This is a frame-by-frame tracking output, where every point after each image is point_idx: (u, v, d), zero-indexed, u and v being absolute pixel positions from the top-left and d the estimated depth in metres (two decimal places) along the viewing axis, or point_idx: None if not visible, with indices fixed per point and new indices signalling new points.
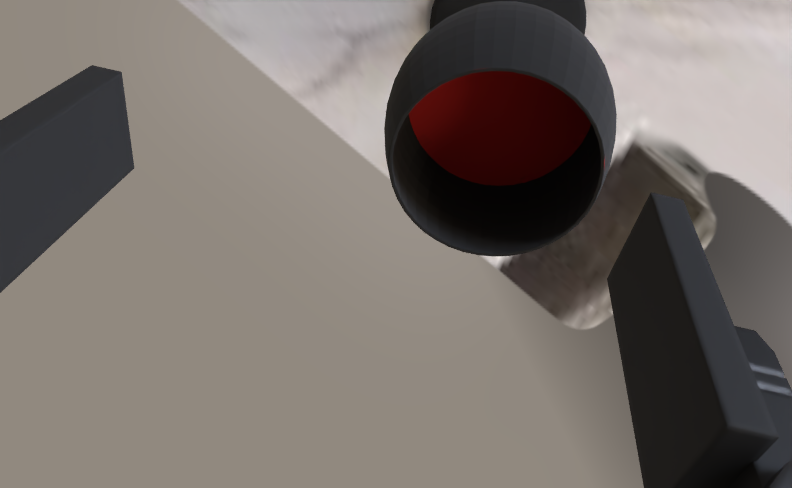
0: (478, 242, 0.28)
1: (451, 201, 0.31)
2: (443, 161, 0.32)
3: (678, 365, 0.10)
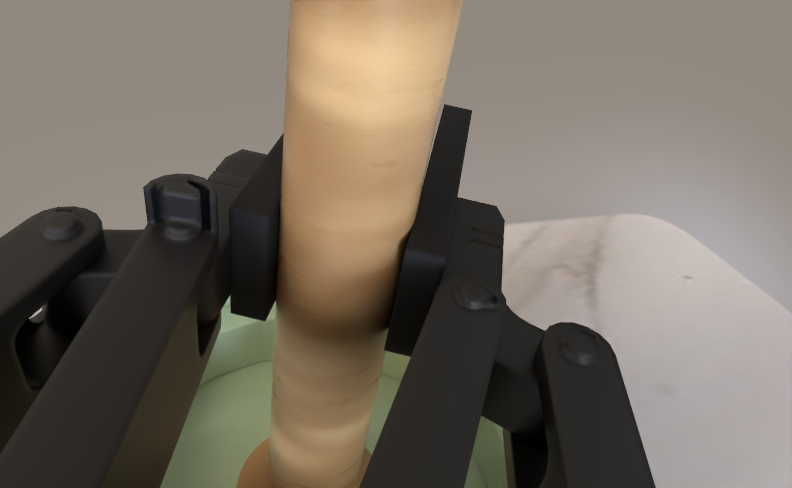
0: None
1: None
2: None
3: None
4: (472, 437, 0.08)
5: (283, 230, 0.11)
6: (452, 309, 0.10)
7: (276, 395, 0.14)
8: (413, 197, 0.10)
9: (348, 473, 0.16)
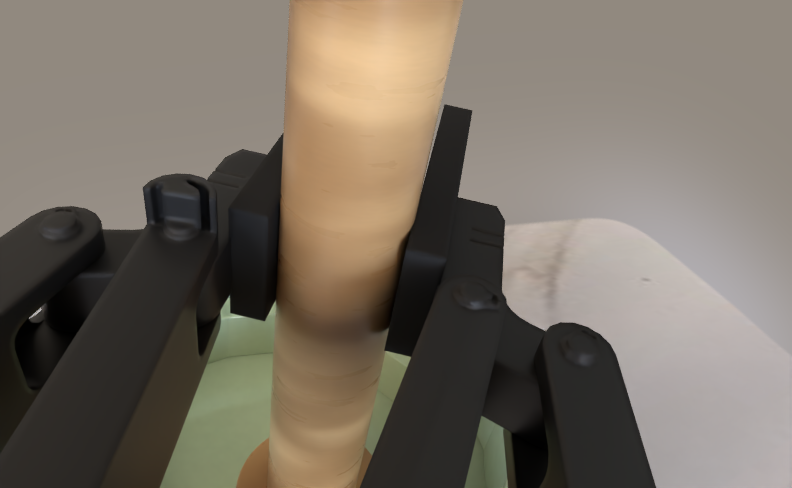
0: None
1: None
2: None
3: None
4: (472, 437, 0.08)
5: (283, 230, 0.11)
6: (452, 309, 0.10)
7: (276, 395, 0.14)
8: (413, 197, 0.10)
9: (348, 474, 0.16)
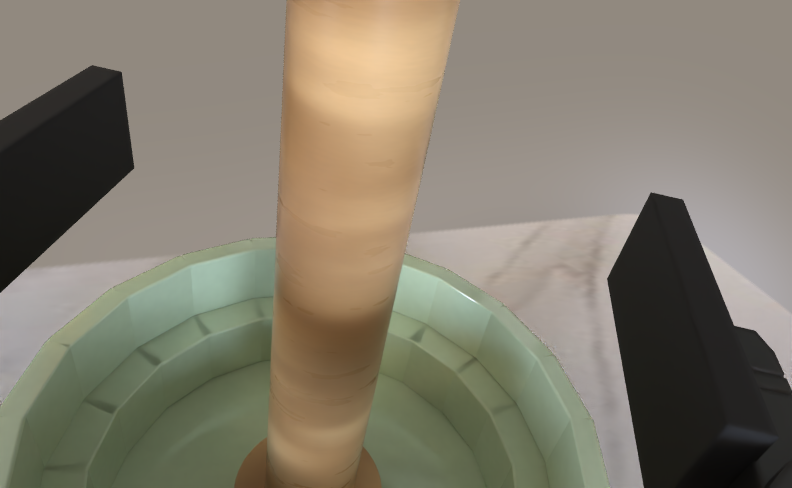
0: None
1: None
2: None
3: (677, 364, 0.10)
4: None
5: (280, 229, 0.11)
6: None
7: (274, 395, 0.14)
8: (410, 196, 0.10)
9: (346, 473, 0.16)
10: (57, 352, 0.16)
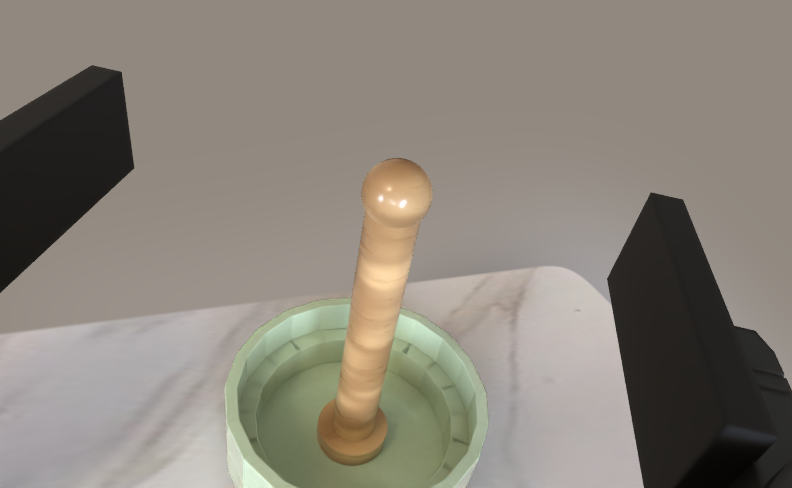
0: None
1: None
2: None
3: (678, 364, 0.10)
4: None
5: (352, 316, 0.30)
6: None
7: (343, 378, 0.33)
8: (398, 306, 0.30)
9: (372, 413, 0.35)
10: (242, 360, 0.35)
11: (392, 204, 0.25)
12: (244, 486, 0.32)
